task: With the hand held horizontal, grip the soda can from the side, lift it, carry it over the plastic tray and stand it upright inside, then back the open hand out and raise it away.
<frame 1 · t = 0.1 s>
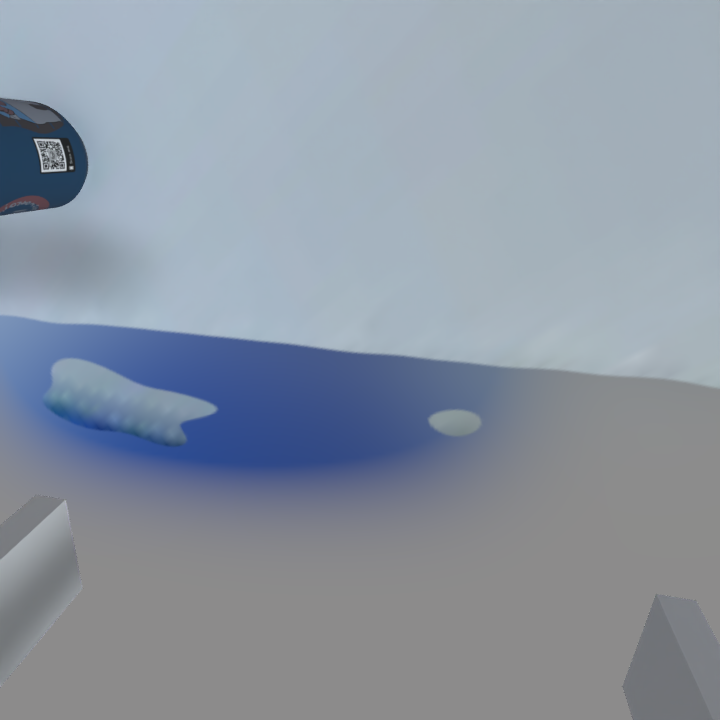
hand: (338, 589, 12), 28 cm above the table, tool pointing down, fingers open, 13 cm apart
soda can: (54, 156, 39), on the table
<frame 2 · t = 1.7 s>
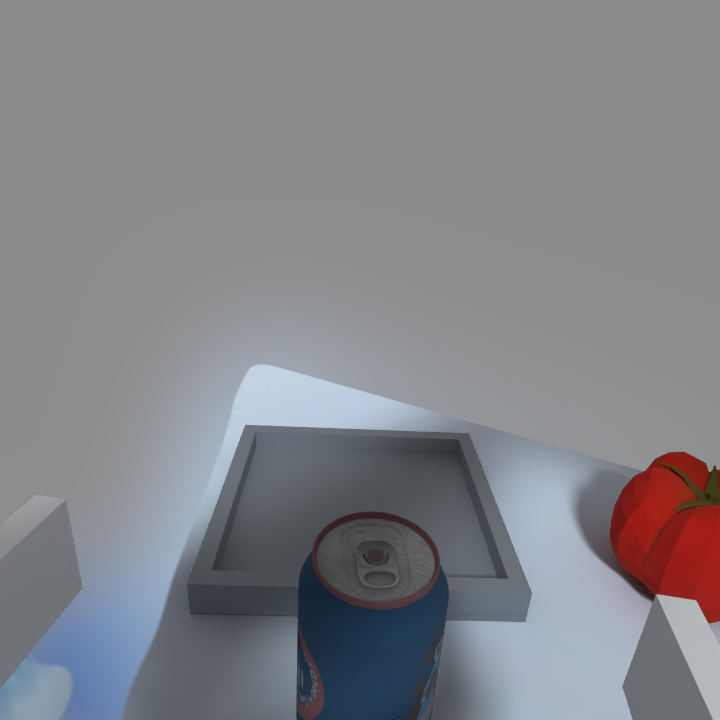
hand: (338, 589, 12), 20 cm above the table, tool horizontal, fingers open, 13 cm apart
tray: (357, 516, 44), on the table
tomato: (680, 583, 40), on the table
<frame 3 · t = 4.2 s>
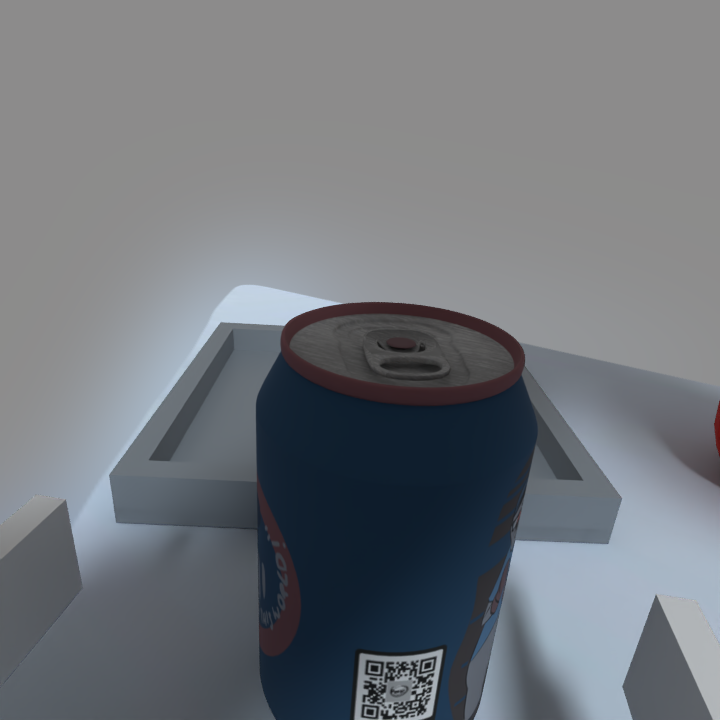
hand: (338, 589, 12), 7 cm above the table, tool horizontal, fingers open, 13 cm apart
tray: (362, 422, 33), on the table
soda can: (368, 686, 17), on the table
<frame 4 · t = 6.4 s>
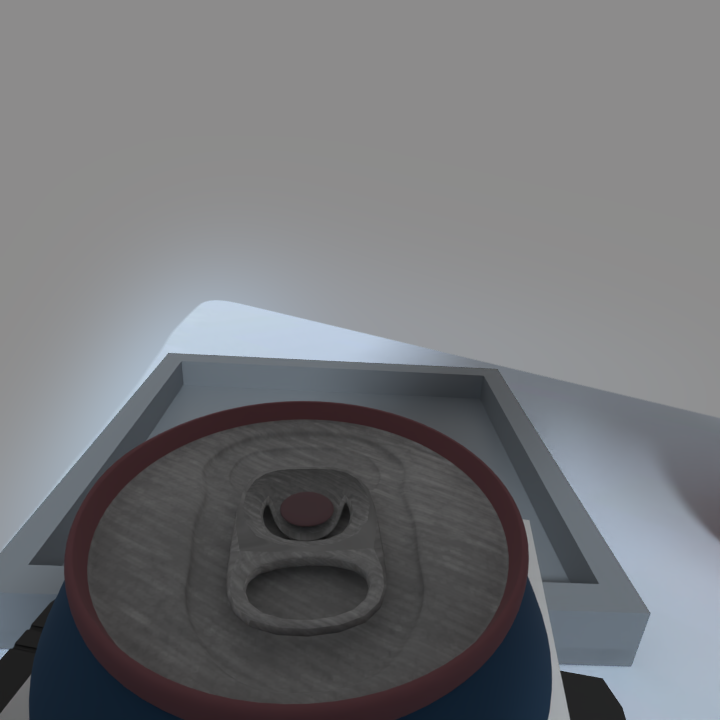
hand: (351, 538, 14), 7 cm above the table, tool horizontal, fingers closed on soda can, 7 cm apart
tray: (327, 481, 27), on the table
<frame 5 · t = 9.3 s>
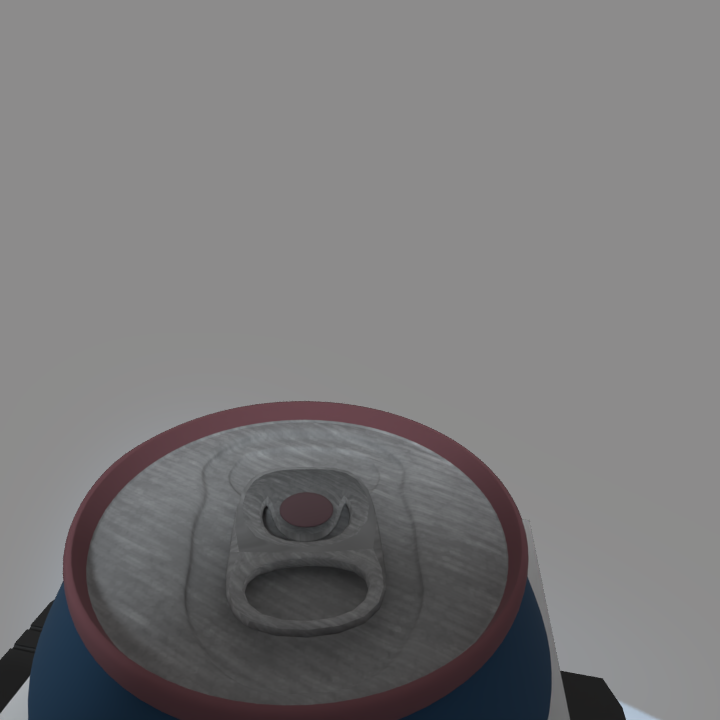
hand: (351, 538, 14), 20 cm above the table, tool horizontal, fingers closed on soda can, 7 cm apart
when the fingers open (9 cm above the table, at t = 12.1 s): soda can drops 1 cm, resting on tray.
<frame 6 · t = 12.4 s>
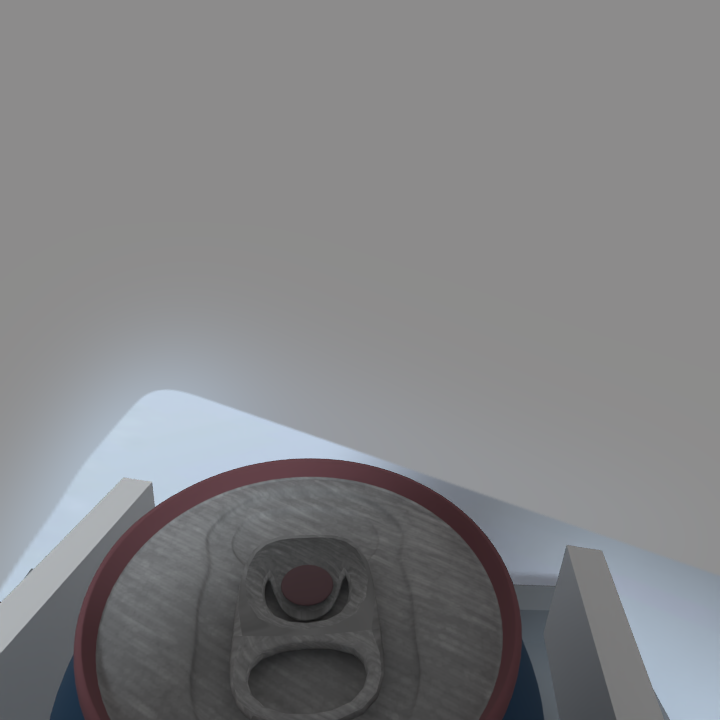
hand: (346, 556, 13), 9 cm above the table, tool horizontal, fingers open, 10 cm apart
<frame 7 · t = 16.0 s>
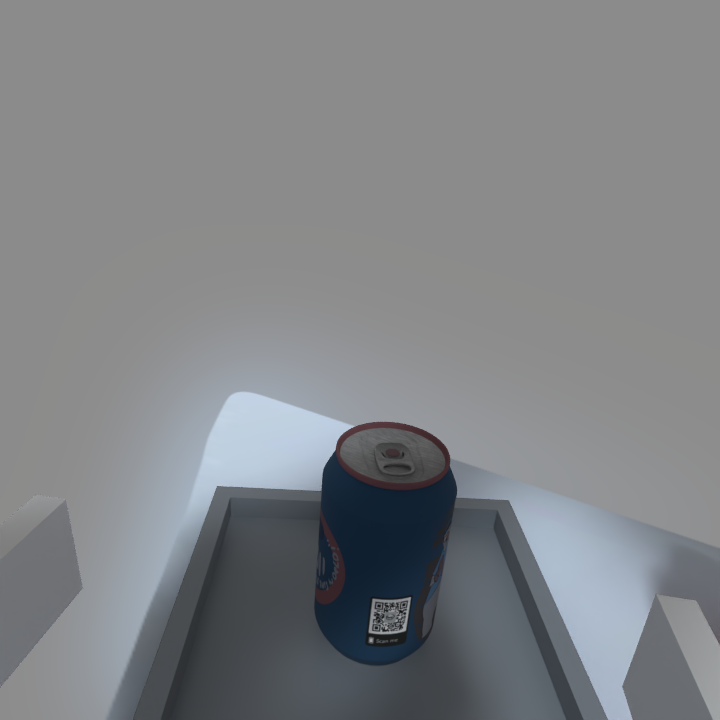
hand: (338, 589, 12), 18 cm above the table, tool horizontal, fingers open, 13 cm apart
tray: (367, 631, 32), on the table
soda can: (371, 625, 31), point 1 cm above the table, touching tray
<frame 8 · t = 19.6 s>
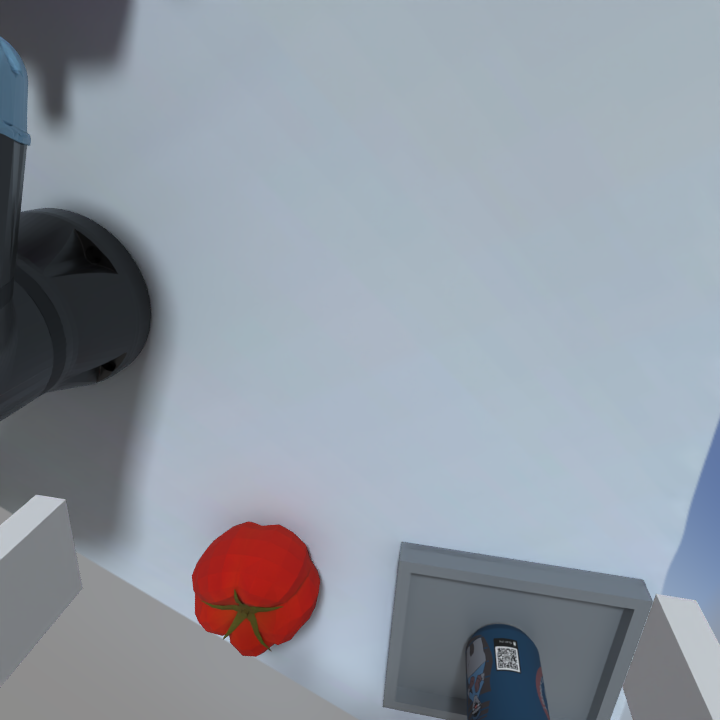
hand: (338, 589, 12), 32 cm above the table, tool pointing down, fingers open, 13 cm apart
tray: (501, 637, 53), on the table
tomato: (271, 550, 54), on the table
soda can: (500, 641, 53), point 1 cm above the table, touching tray
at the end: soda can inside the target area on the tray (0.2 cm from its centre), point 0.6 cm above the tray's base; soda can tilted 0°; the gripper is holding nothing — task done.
